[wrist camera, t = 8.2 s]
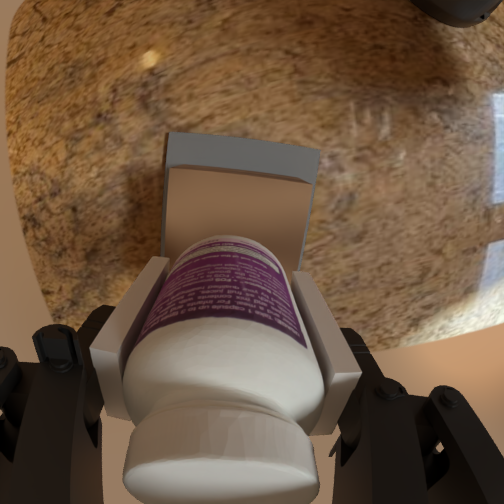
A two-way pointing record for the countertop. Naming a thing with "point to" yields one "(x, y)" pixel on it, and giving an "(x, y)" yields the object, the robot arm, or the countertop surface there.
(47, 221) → the countertop surface
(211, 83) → the countertop surface
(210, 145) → the mat
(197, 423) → the pill bottle
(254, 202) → the base block
